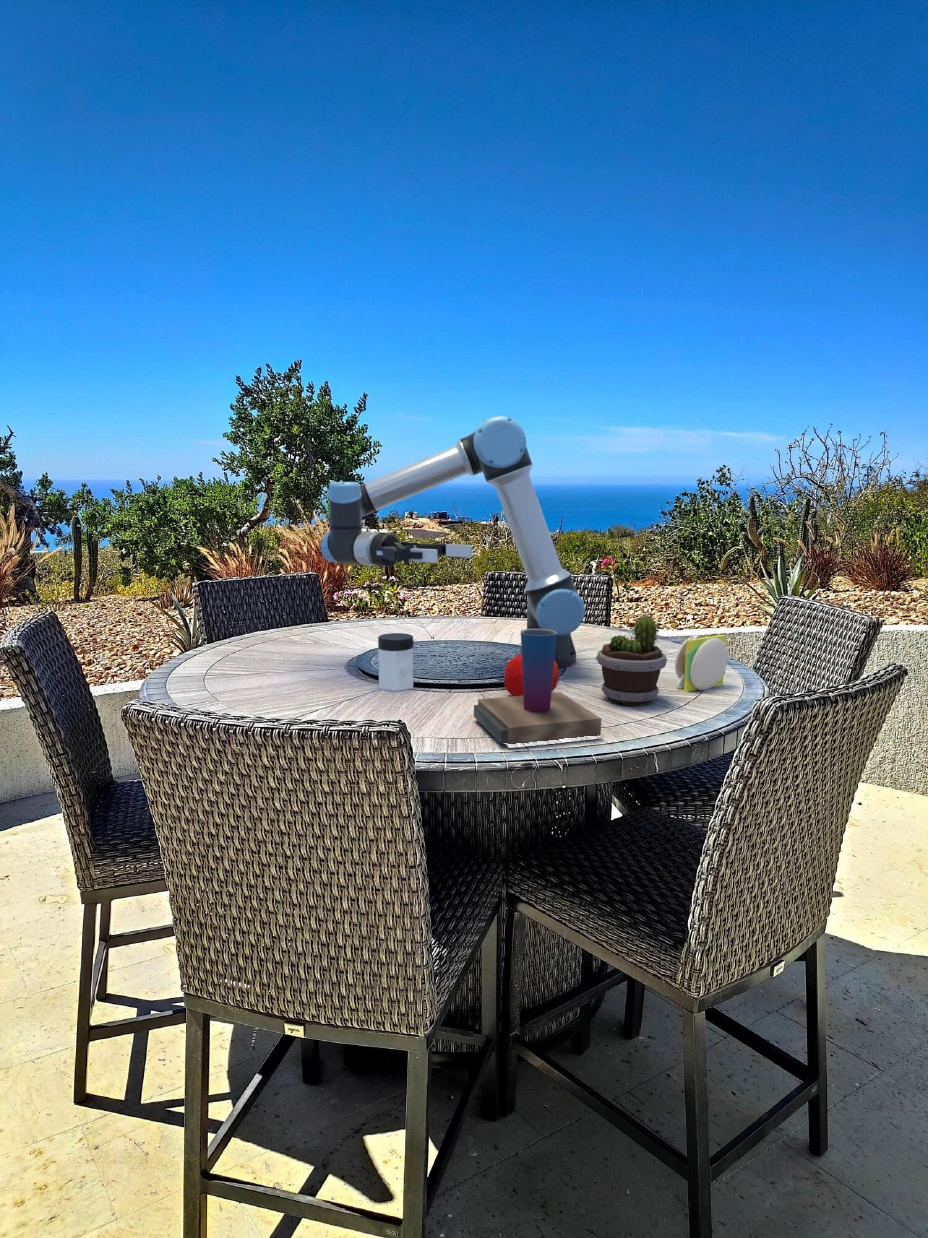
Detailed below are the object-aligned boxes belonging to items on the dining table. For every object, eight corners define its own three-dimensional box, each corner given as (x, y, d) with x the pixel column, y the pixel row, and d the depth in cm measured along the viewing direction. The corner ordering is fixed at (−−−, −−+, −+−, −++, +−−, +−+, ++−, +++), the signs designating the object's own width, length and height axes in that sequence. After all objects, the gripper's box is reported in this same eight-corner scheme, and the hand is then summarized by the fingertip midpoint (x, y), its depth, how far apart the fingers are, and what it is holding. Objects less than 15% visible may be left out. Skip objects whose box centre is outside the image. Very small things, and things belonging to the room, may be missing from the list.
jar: (387, 693, 161) (386, 641, 159) (371, 685, 168) (370, 635, 166) (421, 687, 166) (421, 637, 164) (404, 680, 173) (404, 631, 171)
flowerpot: (615, 712, 148) (619, 617, 144) (584, 692, 162) (587, 605, 159) (678, 707, 152) (683, 614, 148) (641, 688, 166) (645, 603, 163)
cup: (516, 703, 140) (517, 628, 138) (550, 702, 141) (552, 628, 138) (522, 714, 134) (524, 636, 131) (558, 713, 134) (560, 635, 131)
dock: (560, 710, 149) (560, 692, 148) (600, 739, 132) (601, 718, 131) (472, 719, 144) (472, 699, 143) (502, 749, 127) (503, 728, 126)
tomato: (495, 693, 162) (495, 649, 160) (545, 688, 166) (546, 645, 164) (515, 707, 151) (516, 660, 150) (568, 701, 156) (569, 655, 154)
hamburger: (702, 679, 174) (705, 631, 172) (730, 687, 167) (734, 637, 165) (666, 685, 168) (669, 635, 166) (693, 694, 161) (697, 642, 159)
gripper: (410, 561, 178) (483, 565, 166) (342, 570, 157) (420, 576, 146) (410, 530, 176) (483, 533, 165) (341, 536, 156) (420, 539, 144)
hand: (454, 553), depth 155 cm, fingers open, 13 cm apart
